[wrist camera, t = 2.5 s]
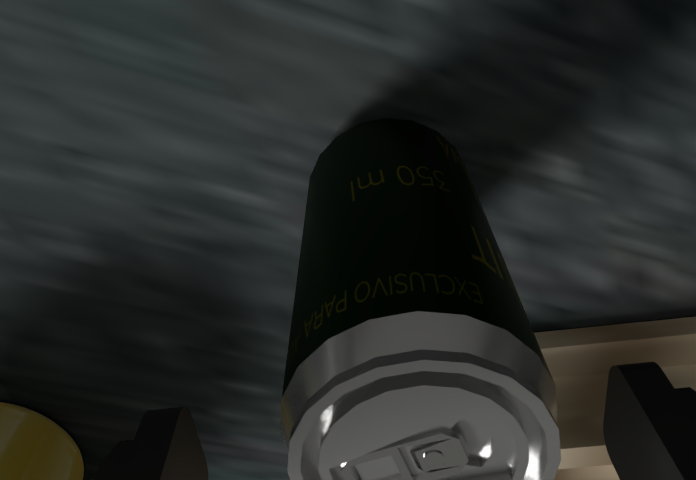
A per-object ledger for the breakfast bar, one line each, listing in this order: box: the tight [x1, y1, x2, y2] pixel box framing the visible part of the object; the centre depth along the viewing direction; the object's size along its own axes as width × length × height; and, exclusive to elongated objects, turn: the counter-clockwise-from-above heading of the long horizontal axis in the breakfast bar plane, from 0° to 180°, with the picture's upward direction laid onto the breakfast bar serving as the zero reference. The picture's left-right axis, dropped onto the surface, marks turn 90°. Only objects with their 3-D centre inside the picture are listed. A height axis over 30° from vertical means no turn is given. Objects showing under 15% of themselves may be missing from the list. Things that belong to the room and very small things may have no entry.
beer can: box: [280, 118, 561, 480], centre depth 17 cm, size 5×5×12 cm
